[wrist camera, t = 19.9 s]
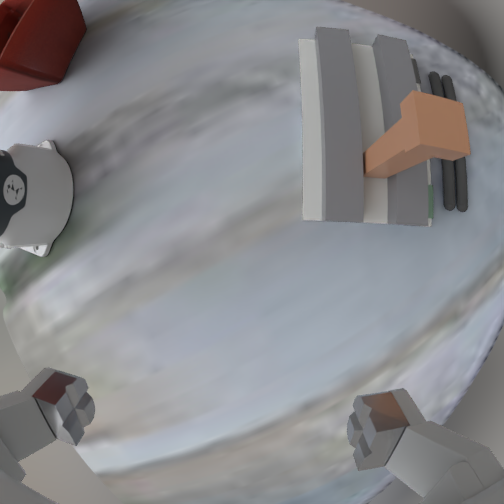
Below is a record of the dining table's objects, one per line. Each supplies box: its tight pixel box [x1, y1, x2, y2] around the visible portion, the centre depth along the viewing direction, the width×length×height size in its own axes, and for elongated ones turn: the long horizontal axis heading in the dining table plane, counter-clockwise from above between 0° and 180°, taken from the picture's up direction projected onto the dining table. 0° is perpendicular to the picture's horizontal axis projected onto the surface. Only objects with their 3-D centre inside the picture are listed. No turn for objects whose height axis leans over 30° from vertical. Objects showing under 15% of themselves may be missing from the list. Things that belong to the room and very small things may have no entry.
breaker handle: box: [363, 90, 471, 179], centre depth 21 cm, size 4×4×16 cm
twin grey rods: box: [429, 72, 468, 212], centre depth 28 cm, size 4×20×2 cm, turn 179°
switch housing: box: [298, 27, 433, 227], centre depth 28 cm, size 16×24×4 cm
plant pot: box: [0, 0, 86, 91], centre depth 26 cm, size 19×19×17 cm
